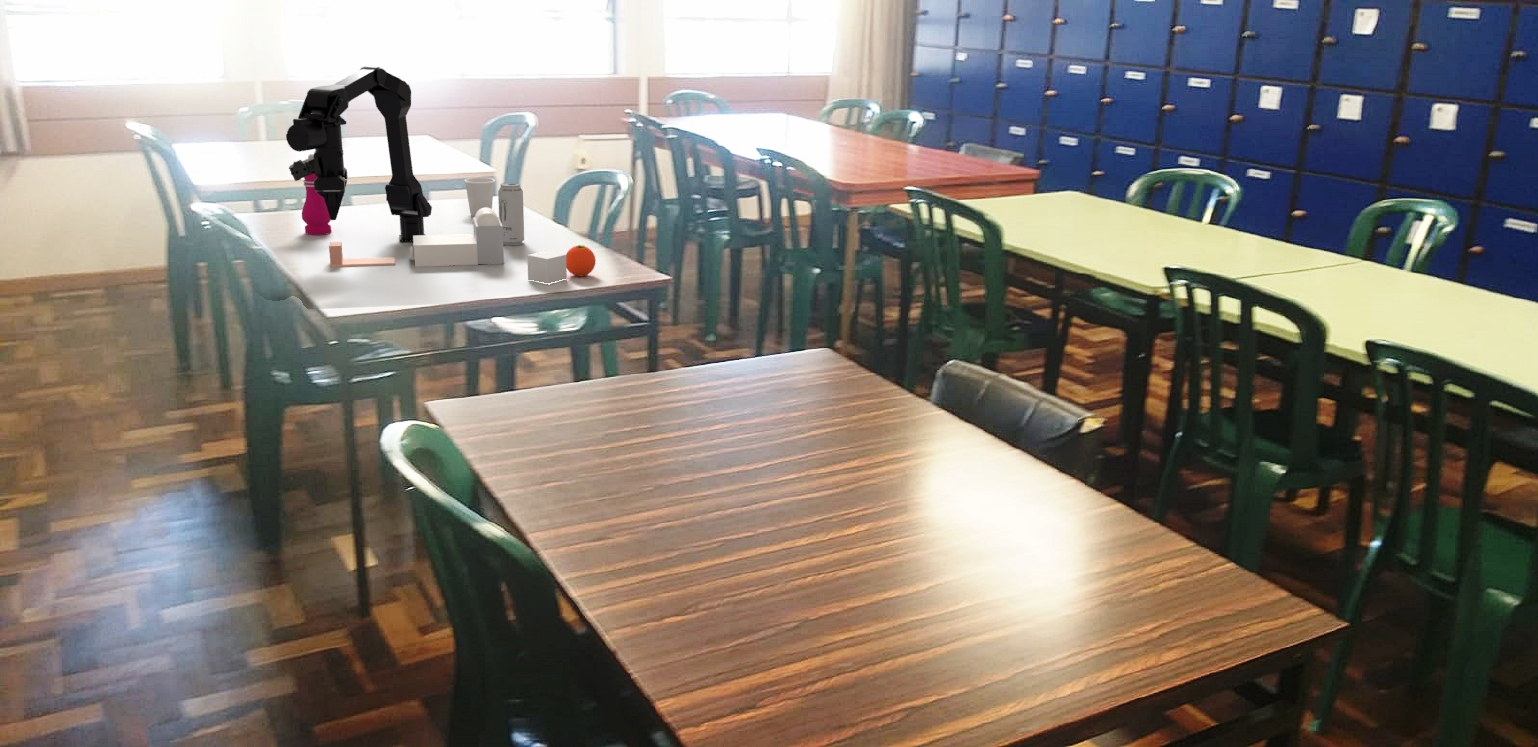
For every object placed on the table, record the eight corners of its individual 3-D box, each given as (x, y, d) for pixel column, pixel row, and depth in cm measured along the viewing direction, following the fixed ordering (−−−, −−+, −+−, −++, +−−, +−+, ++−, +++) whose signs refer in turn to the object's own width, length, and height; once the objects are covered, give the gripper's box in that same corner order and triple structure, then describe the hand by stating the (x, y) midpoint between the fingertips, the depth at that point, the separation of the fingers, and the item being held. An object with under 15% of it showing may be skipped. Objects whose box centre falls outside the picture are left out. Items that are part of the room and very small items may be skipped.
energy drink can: (495, 243, 292) (493, 183, 287) (515, 240, 296) (513, 181, 291) (509, 247, 288) (507, 187, 283) (529, 244, 292) (527, 185, 287)
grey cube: (548, 285, 253) (547, 259, 251) (528, 281, 256) (527, 255, 254) (566, 280, 258) (566, 254, 256) (547, 276, 261) (546, 250, 259)
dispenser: (410, 256, 274) (407, 208, 271) (500, 253, 280) (498, 206, 277) (411, 266, 264) (408, 217, 261) (504, 264, 271) (502, 215, 267)
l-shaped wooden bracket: (331, 262, 267) (330, 241, 265) (395, 260, 271) (393, 239, 270) (330, 268, 262) (328, 246, 260) (395, 266, 266) (393, 245, 264)
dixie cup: (492, 218, 322) (490, 182, 319) (462, 217, 322) (460, 181, 319) (499, 213, 330) (498, 178, 327) (470, 211, 330) (468, 176, 327)
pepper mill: (296, 233, 293) (289, 154, 287) (317, 229, 300) (310, 151, 294) (319, 236, 291) (312, 157, 285) (339, 232, 297) (333, 153, 291)
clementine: (569, 270, 267) (568, 240, 265) (598, 272, 267) (598, 241, 265) (562, 278, 259) (561, 247, 257) (592, 280, 259) (592, 249, 257)
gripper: (293, 141, 262) (299, 209, 267) (286, 152, 245) (292, 224, 250) (345, 141, 266) (350, 208, 270) (341, 152, 249) (347, 223, 254)
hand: (334, 216), depth 261 cm, fingers open, 9 cm apart
